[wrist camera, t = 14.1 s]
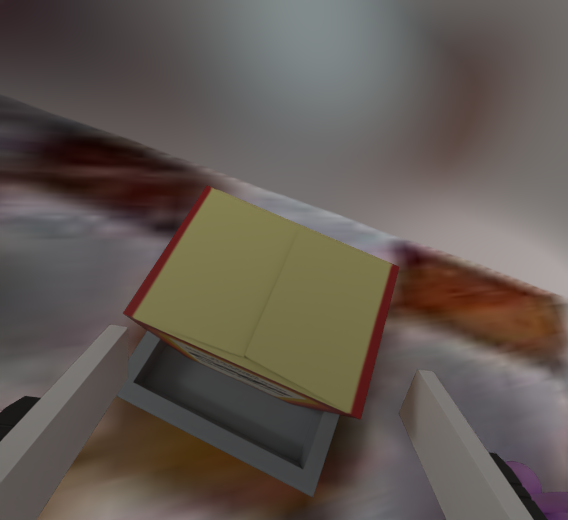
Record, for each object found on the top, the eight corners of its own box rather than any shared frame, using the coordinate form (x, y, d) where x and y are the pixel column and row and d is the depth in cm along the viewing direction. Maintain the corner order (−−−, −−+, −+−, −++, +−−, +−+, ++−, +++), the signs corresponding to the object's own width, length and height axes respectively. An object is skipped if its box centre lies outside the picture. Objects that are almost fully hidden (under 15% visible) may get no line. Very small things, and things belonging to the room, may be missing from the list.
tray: (124, 391, 25) (107, 391, 22) (221, 237, 31) (220, 220, 28) (302, 483, 24) (312, 497, 21) (364, 305, 31) (378, 295, 27)
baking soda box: (187, 357, 25) (119, 311, 11) (222, 289, 28) (206, 180, 14) (291, 404, 25) (364, 420, 11) (317, 331, 28) (403, 263, 13)
